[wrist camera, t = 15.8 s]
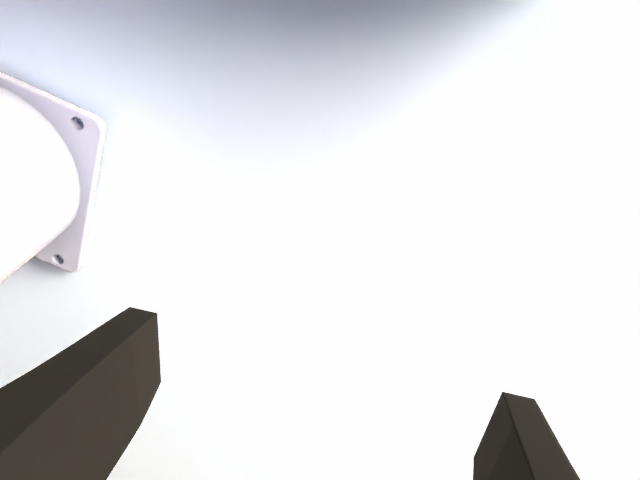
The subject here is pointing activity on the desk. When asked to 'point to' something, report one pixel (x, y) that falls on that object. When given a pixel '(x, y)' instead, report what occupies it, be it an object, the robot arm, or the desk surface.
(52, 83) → the desk surface
